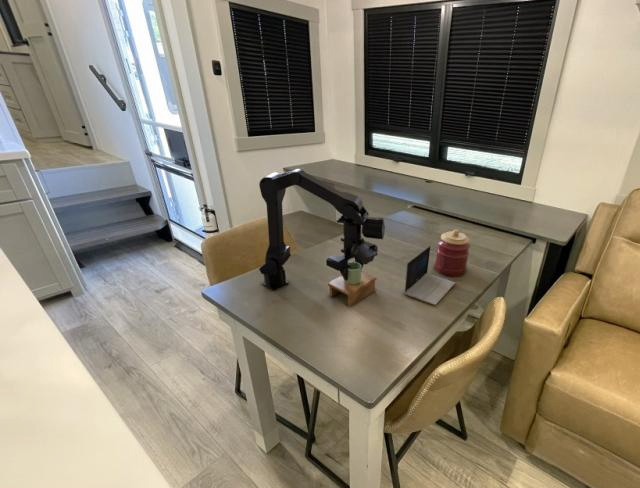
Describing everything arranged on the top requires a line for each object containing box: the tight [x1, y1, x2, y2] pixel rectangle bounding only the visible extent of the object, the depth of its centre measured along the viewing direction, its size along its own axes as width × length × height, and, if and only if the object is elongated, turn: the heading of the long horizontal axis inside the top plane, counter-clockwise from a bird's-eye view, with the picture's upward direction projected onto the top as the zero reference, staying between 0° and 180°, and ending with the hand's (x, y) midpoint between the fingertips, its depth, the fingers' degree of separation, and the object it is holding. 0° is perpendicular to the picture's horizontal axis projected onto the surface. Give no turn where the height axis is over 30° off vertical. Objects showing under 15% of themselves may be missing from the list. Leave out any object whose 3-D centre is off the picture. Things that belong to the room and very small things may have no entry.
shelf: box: [327, 270, 377, 307], centre depth 116 cm, size 14×10×6 cm
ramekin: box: [344, 261, 363, 284], centre depth 114 cm, size 6×6×6 cm
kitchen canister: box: [434, 229, 471, 277], centre depth 134 cm, size 13×13×18 cm
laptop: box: [404, 245, 456, 306], centre depth 120 cm, size 18×12×13 cm
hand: (352, 276), depth 114 cm, fingers closed on ramekin, 6 cm apart
